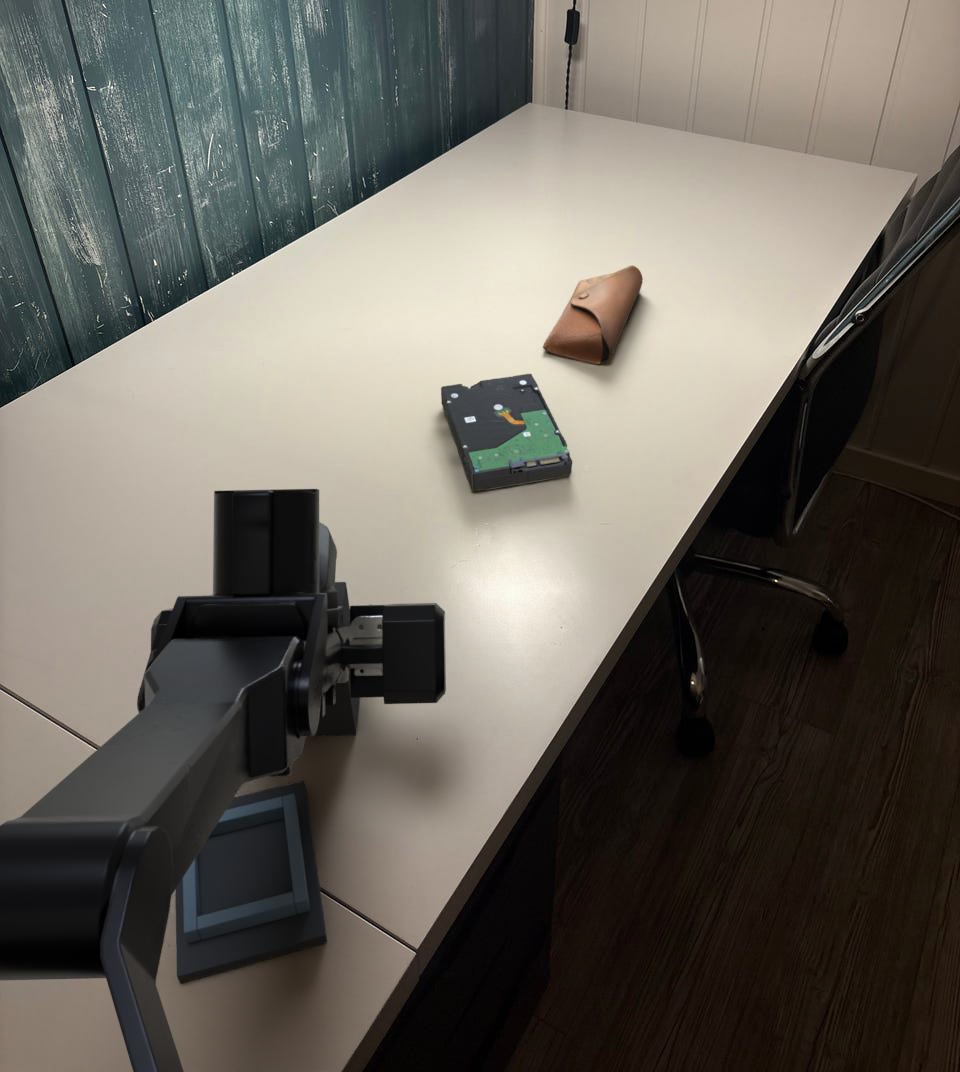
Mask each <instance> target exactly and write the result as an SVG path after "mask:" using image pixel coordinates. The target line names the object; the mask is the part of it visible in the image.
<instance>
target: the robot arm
mask: <svg viewBox="0 0 960 1072" xmlns="http://www.w3.org/2000/svg"><path fill="white" fill-rule="evenodd" d="M212 539H213V540H212V541H213V545H212V547H213V548H212V549H213V550H212V551H213V554H212V555H213V556H212V565H213V566H212V594H209V595H178V596H177V597H176V600H175V602H174V605H173V606H172V607H173V608H168V609H163V610H161V611H160V612H159V613H158V614H157V615H156V617H155V618H154V619H153V622H152V624H151V625H152V626H151V628H150V653H149V657H148V660H147V663H146V666H145V670H144V674H143V677H142V681H141V683H140V687H139V689H138V694H137V699H136V706H137V712H138V713H137V715H135V716H134V717H133V718H132V719H131V720H129V721H128V722H127V723H126V724H125V725H124V726H123V727H121V728H120V729H119V730H118V731H116V732H115V734H114V735H112V736H111V737H110V738H109V739H108V740H107V741H106V742H104V743H103V744H102V745H101V746H99V747H98V748H97V749H96V750H95V751H94V752H93V753H92V754H90V755H89V756H88V757H87V758H86V759H85V760H83V762H81V763H80V764H79V765H78V766H77V767H75V768H74V769H73V770H72V771H71V772H70V773H69V774H68V775H67V776H65V777H64V778H63V779H62V780H61V781H60V782H59V783H57V784H56V785H55V786H54V787H53V788H52V789H51V790H50V791H48V792H47V793H46V794H45V795H44V796H42V798H40V799H39V800H38V801H37V802H36V803H34V804H33V805H32V806H31V807H30V808H29V809H28V810H27V811H25V812H24V813H23V814H22V815H21V816H18V817H16V818H15V819H11V820H6V821H5V822H3V823H2V824H0V981H38V980H41V981H42V980H79V979H80V980H82V979H85V980H87V979H105V980H106V983H107V986H108V990H109V993H110V996H111V1000H112V1004H113V1007H114V1011H115V1013H116V1017H117V1020H118V1024H119V1027H120V1031H121V1034H122V1037H123V1042H124V1045H125V1048H126V1051H127V1052H126V1053H127V1055H128V1058H129V1062H130V1065H131V1068H132V1072H185V1071H184V1069H183V1065H182V1062H181V1058H180V1056H179V1052H178V1049H177V1047H176V1044H175V1039H174V1037H173V1034H172V1031H171V1027H170V1024H169V1021H168V1018H167V1016H166V1011H165V1009H164V1005H163V1003H162V999H161V997H160V993H159V991H158V988H157V976H158V971H159V966H160V962H161V955H162V951H163V946H164V941H165V936H166V932H167V931H166V930H167V927H168V920H169V915H170V910H171V909H170V908H171V902H172V895H173V894H174V893H175V889H176V888H177V886H178V885H179V883H180V881H181V880H182V878H183V877H184V875H185V874H186V872H187V870H188V869H189V867H190V866H191V864H192V863H193V861H194V859H195V858H196V856H197V855H198V853H199V852H200V850H201V848H202V847H203V845H204V844H205V842H206V841H207V839H208V837H209V836H210V834H211V833H212V831H213V830H214V828H215V827H216V825H217V823H218V822H219V820H220V819H221V817H222V816H223V814H224V812H225V811H226V809H227V808H228V806H229V805H230V803H231V801H232V800H233V798H234V797H236V795H237V794H238V792H239V791H240V789H241V787H242V786H243V785H244V784H246V783H249V782H253V781H257V780H260V779H264V778H269V777H271V778H272V777H273V778H274V777H289V776H290V775H291V774H292V772H293V771H292V769H293V763H294V762H295V761H297V759H298V758H299V757H300V756H301V754H302V752H303V750H304V747H305V743H306V739H307V737H315V736H314V735H315V734H316V732H317V728H318V724H319V718H321V717H323V716H324V715H325V705H334V704H335V702H336V692H335V683H346V682H347V681H348V680H349V678H350V697H351V698H360V699H361V698H362V699H363V698H364V699H365V698H383V704H384V705H404V704H405V705H406V704H407V705H408V704H409V705H411V704H413V705H414V704H437V703H438V702H439V701H440V700H441V699H442V698H443V696H444V695H446V692H447V667H446V666H447V664H446V663H447V661H446V660H447V659H446V611H445V610H444V609H443V608H442V607H441V606H440V605H439V604H438V603H437V602H420V603H419V602H418V603H416V602H413V603H391V604H365V605H362V604H361V605H359V604H358V605H349V607H350V626H349V627H343V606H338V591H337V590H336V589H335V582H336V570H337V569H336V568H337V559H338V549H337V546H336V543H335V541H334V538H333V536H332V534H331V531H330V529H329V528H328V526H327V525H326V524H324V523H322V522H320V489H319V488H288V489H287V488H285V489H284V488H283V489H280V488H279V489H241V490H239V489H237V490H233V489H232V490H214V491H213V538H212ZM341 639H342V640H343V643H346V641H347V639H348V640H349V646H342V644H341ZM342 664H349V668H348V666H346V667H345V670H344V671H343V668H342ZM349 669H350V670H349Z"/></svg>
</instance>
